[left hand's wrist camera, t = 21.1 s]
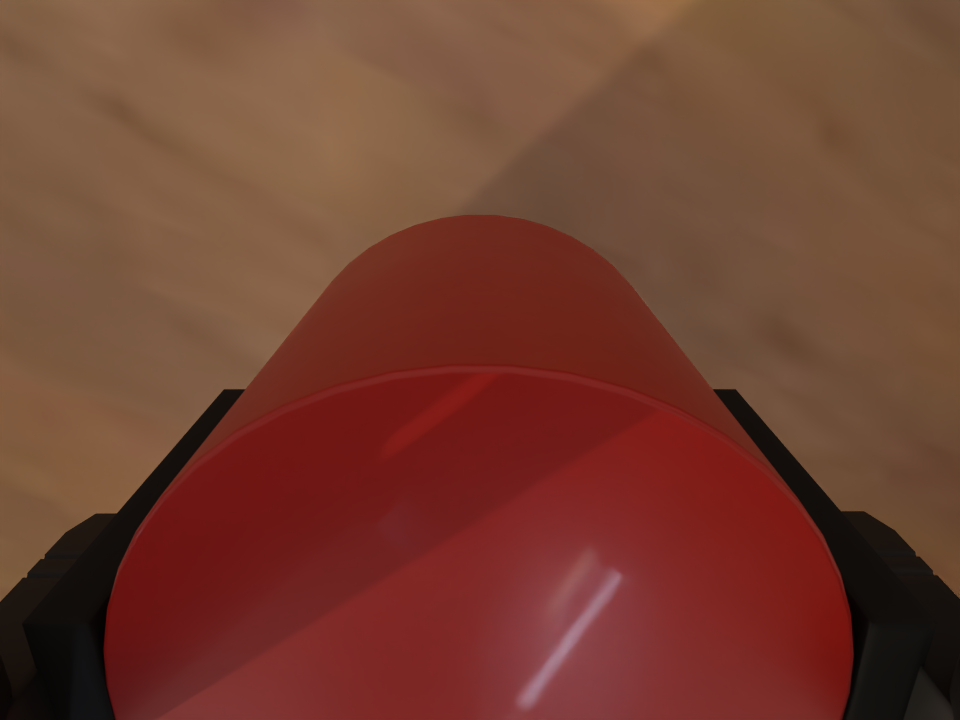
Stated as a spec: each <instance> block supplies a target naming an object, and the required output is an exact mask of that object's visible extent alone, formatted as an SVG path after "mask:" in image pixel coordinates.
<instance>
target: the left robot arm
mask: <svg viewBox="0 0 960 720" xmlns="http://www.w3.org/2000/svg"><path fill="white" fill-rule="evenodd" d="M245 390H246V389H224V390H223V391H222V392H221V394H220V395H219V396H218V397H217V398H216V399H215V400H214V402H213V403H212V404H211V405H210V406H209V407H208V409H207V410H206V411H205V412H204V413H203V414H202V416H201V417H200V418H199V419H198V420H197V421H196V423H195V424H194V425H193V426H192V427H191V428H190V429H189V431H188V432H187V433H186V434H185V435H184V436H183V438H182V439H181V440H180V441H179V442H178V443H177V445H176V446H175V447H174V448H173V449H172V450H171V451H170V453H169V454H168V455H167V456H166V457H165V458H164V460H163V461H162V462H161V463H160V464H159V465H158V467H157V468H156V469H155V470H154V471H153V472H152V473H151V475H150V476H149V477H148V478H147V479H146V480H145V482H144V483H143V484H142V485H141V486H140V487H139V489H138V490H137V491H136V492H135V493H134V494H133V495H132V497H131V498H130V499H129V500H128V501H127V502H126V504H125V505H124V506H123V507H122V508H121V509H120V511H119V512H118V513H117V514H95V515H93V516H91V517H90V518H88V519H87V520H85V521H83V522H82V523H80V524H79V525H77V526H75V527H74V528H72V529H71V530H69V531H67V532H66V533H65V534H64V535H63V536H62V537H61V538H60V539H59V540H58V541H57V542H56V543H55V544H54V545H53V547H52V548H51V549H50V550H49V551H48V552H47V553H46V554H45V558H44V559H40V560H39V561H38V562H37V564H36V565H35V566H34V567H33V568H32V569H31V570H30V571H29V572H28V573H27V574H28V575H27V578H22V579H21V581H20V582H19V583H18V584H17V585H16V586H15V587H14V588H13V589H12V590H11V591H10V592H9V593H8V594H7V595H6V596H5V597H4V599H3V600H2V601H1V602H0V720H115V717H114V713H113V709H112V706H111V702H110V698H109V694H108V690H107V686H106V674H105V662H104V651H103V648H104V637H105V626H106V615H107V607H108V603H109V599H110V596H111V592H112V589H113V585H114V581H115V578H116V574H117V570H118V568H119V565H120V563H121V561H122V559H123V557H124V555H125V553H126V551H127V549H128V547H129V545H130V542H131V540H132V538H133V536H134V534H135V532H136V530H137V529H138V527H139V526H140V524H141V523H142V522H143V520H144V519H145V517H146V516H147V515H148V513H149V512H150V510H151V509H152V507H153V506H154V505H155V503H156V502H157V500H158V499H159V498H160V496H161V495H162V493H163V492H164V491H165V490H166V488H167V487H168V486H169V485H170V483H171V482H172V481H173V480H174V478H175V477H176V476H177V475H178V473H179V472H180V471H181V470H182V468H183V467H184V466H185V465H186V463H187V462H188V461H189V460H190V458H191V457H192V456H193V455H194V453H195V452H196V451H197V450H198V448H199V447H200V446H201V445H202V443H203V442H204V441H205V440H206V438H207V437H208V436H209V435H210V433H211V432H212V431H213V430H214V428H215V427H216V426H217V425H218V423H219V422H220V421H221V420H222V418H223V417H224V416H225V415H226V413H227V412H228V411H229V410H230V408H231V407H232V406H233V405H234V403H235V402H236V401H237V400H238V398H239V397H240V396H241V395H242V393H243V392H244V391H245ZM713 391H714V392H715V393H716V395H717V396H718V397H719V398H720V400H721V401H722V402H723V403H724V405H725V406H726V407H727V409H728V410H729V411H730V412H731V414H732V415H733V416H734V417H735V419H736V420H737V421H738V423H739V424H740V425H741V426H742V428H743V429H744V430H745V432H746V433H747V434H748V435H749V437H750V438H751V439H752V440H753V442H754V443H755V444H756V446H757V447H758V448H759V449H760V451H761V452H762V453H763V454H764V456H765V457H766V458H767V460H768V461H769V462H770V463H771V465H772V466H773V467H774V468H775V470H776V471H777V472H778V474H779V475H780V476H781V477H782V479H783V480H784V481H785V482H786V484H787V485H788V486H789V488H790V489H791V490H792V491H793V493H794V494H795V495H796V497H797V498H798V499H799V501H800V502H801V503H802V505H803V506H804V508H805V509H806V511H807V512H808V514H809V515H810V517H811V518H812V520H813V521H814V523H815V524H816V526H817V527H818V529H819V530H820V531H821V533H822V534H823V536H824V538H825V540H826V542H827V545H828V547H829V549H830V551H831V553H832V556H833V558H834V560H835V562H836V564H837V567H838V569H839V571H840V573H841V577H842V581H843V584H844V588H845V592H846V596H847V600H848V604H849V608H850V612H851V621H852V635H853V649H854V659H853V668H852V678H851V687H850V694H849V698H848V701H847V705H846V708H845V712H844V715H843V719H842V720H960V599H959V598H958V597H957V596H956V595H955V594H954V593H953V591H952V590H951V589H950V588H949V587H948V586H947V585H946V584H945V583H944V582H943V581H942V580H941V579H940V578H939V577H938V576H937V575H933V570H932V569H931V568H930V567H929V566H928V565H927V564H926V563H925V562H924V561H923V560H922V559H921V558H920V557H916V555H915V551H914V550H913V549H912V548H911V547H910V546H909V545H908V544H907V543H906V542H905V541H904V540H903V539H902V538H901V537H900V536H899V535H898V533H897V532H896V531H895V530H893V529H892V528H890V527H888V526H887V525H885V524H884V523H882V522H880V521H879V520H877V519H876V518H874V517H872V516H871V515H869V514H867V513H866V512H864V511H840V510H839V509H838V507H837V506H836V505H835V504H834V503H833V502H832V500H831V499H830V498H829V497H828V496H827V495H826V494H825V492H824V491H823V490H822V489H821V488H820V487H819V485H818V484H817V483H816V482H815V481H814V480H813V478H812V477H811V476H810V475H809V474H808V473H807V472H806V470H805V469H804V468H803V467H802V466H801V465H800V463H799V462H798V461H797V460H796V459H795V458H794V456H793V455H792V454H791V453H790V452H789V451H788V449H787V448H786V447H785V446H784V445H783V444H782V443H781V441H780V440H779V439H778V438H777V437H776V436H775V434H774V433H773V432H772V431H771V430H770V429H769V427H768V426H767V425H766V424H765V423H764V422H763V421H762V419H761V418H760V417H759V416H758V415H757V414H756V412H755V411H754V410H753V409H752V408H751V407H750V405H749V404H748V403H747V402H746V401H745V400H744V398H743V397H742V396H741V395H740V394H739V393H738V392H737V390H736V389H713Z"/></svg>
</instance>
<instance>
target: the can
mask: <svg viewBox="0 0 960 720" xmlns="http://www.w3.org/2000/svg"><path fill="white" fill-rule="evenodd" d="M103 651H104V662H105V674H106V686H107V690H108V694H109V698H110V702H111V706H112V709H113V713H114V717H115V720H842V719H843V715H844V712H845V708H846V705H847V701H848V698H849V694H850V687H851V678H852V668H853V659H854V649H853V635H852V621H851V612H850V608H849V604H848V600H847V596H846V592H845V588H844V584H843V581H842V577H841V573H840V571H839V569H838V567H837V564H836V562H835V560H834V558H833V556H832V553H831V551H830V549H829V547H828V545H827V542H826V540H825V538H824V536H823V534H822V533H821V531H820V530H819V529H818V527H817V526H816V524H815V523H814V521H813V520H812V518H811V517H810V515H809V514H808V512H807V511H806V509H805V508H804V506H803V505H802V503H801V502H800V501H799V499H798V498H797V497H796V495H795V494H794V493H793V491H792V490H791V489H790V488H789V486H788V485H787V484H786V482H785V481H784V480H783V479H782V477H781V476H780V475H779V474H778V472H777V471H776V470H775V468H774V467H773V466H772V465H771V463H770V462H769V461H768V460H767V458H766V457H765V456H764V454H763V453H762V452H761V451H760V449H759V448H758V447H757V446H756V444H755V443H754V442H753V440H752V439H751V438H750V437H749V435H748V434H747V433H746V432H745V430H744V429H743V428H742V426H741V425H740V424H739V423H738V421H737V420H736V419H735V417H734V416H733V415H732V414H731V412H730V411H729V410H728V409H727V407H726V406H725V405H724V403H723V402H722V401H721V400H720V398H719V397H718V396H717V395H716V393H715V392H714V391H713V389H712V388H711V387H710V386H709V384H708V383H707V382H706V381H705V379H704V378H703V377H702V375H701V374H700V373H699V372H698V370H697V369H696V368H695V366H694V365H693V364H692V363H691V361H690V360H689V359H688V358H687V356H686V355H685V354H684V352H683V351H682V350H681V349H680V347H679V346H678V345H677V344H676V342H675V341H674V340H673V338H672V337H671V336H670V335H669V333H668V332H667V331H666V330H665V328H664V327H663V326H662V324H661V323H660V322H659V321H658V319H657V318H656V317H655V315H654V314H653V313H652V312H651V310H650V309H649V308H648V307H647V305H646V304H645V303H644V301H643V300H642V299H641V298H640V296H639V295H638V294H637V293H636V291H635V290H634V289H633V287H632V286H631V285H630V284H629V283H628V282H627V280H626V279H625V278H624V277H623V276H622V275H621V274H620V273H619V272H618V271H617V270H616V269H615V268H614V266H612V265H611V264H610V263H609V262H608V261H606V260H605V259H604V258H603V257H601V256H600V255H599V254H598V253H596V252H595V251H594V250H593V249H591V248H589V247H588V246H586V245H584V244H583V243H581V242H579V241H578V240H576V239H574V238H573V237H571V236H569V235H566V234H564V233H562V232H559V231H557V230H555V229H553V228H550V227H548V226H545V225H541V224H538V223H534V222H531V221H527V220H523V219H518V218H511V217H504V216H497V215H464V216H456V217H448V218H440V219H437V220H433V221H429V222H425V223H421V224H418V225H414V226H412V227H410V228H407V229H405V230H402V231H400V232H397V233H395V234H393V235H390V236H389V237H387V238H385V239H384V240H382V241H380V242H378V243H377V244H375V245H373V246H372V247H370V248H368V249H367V250H366V251H364V252H363V253H362V254H361V255H359V256H358V257H357V258H356V259H354V260H353V261H352V262H350V263H349V264H348V265H347V266H346V267H345V268H344V269H343V270H342V271H341V272H340V274H339V275H338V276H337V277H336V278H335V279H334V280H333V281H332V282H331V283H330V284H329V286H328V287H327V288H326V289H325V291H324V292H323V293H322V294H321V296H320V297H319V298H318V299H317V301H316V302H315V303H314V304H313V306H312V307H311V308H310V309H309V311H308V312H307V313H306V314H305V316H304V317H303V318H302V319H301V321H300V322H299V323H298V324H297V326H296V327H295V328H294V329H293V331H292V332H291V333H290V334H289V336H288V337H287V338H286V339H285V341H284V342H283V343H282V344H281V346H280V347H279V348H278V349H277V351H276V352H275V353H274V354H273V356H272V357H271V358H270V359H269V361H268V362H267V363H266V364H265V366H264V367H263V368H262V370H261V371H260V372H259V373H258V375H257V376H256V377H255V378H254V380H253V381H252V382H251V383H250V385H249V386H248V387H247V388H246V390H245V391H244V392H243V393H242V395H241V396H240V397H239V398H238V400H237V401H236V402H235V403H234V405H233V406H232V407H231V408H230V410H229V411H228V412H227V413H226V415H225V416H224V417H223V418H222V420H221V421H220V422H219V423H218V425H217V426H216V427H215V428H214V430H213V431H212V432H211V433H210V435H209V436H208V437H207V438H206V440H205V441H204V442H203V443H202V445H201V446H200V447H199V448H198V450H197V451H196V452H195V453H194V455H193V456H192V457H191V458H190V460H189V461H188V462H187V463H186V465H185V466H184V467H183V468H182V470H181V471H180V472H179V473H178V475H177V476H176V477H175V478H174V480H173V481H172V482H171V483H170V485H169V486H168V487H167V488H166V490H165V491H164V492H163V493H162V495H161V496H160V498H159V499H158V500H157V502H156V503H155V505H154V506H153V507H152V509H151V510H150V512H149V513H148V515H147V516H146V517H145V519H144V520H143V522H142V523H141V524H140V526H139V527H138V529H137V530H136V532H135V534H134V536H133V538H132V540H131V542H130V545H129V547H128V549H127V551H126V553H125V555H124V557H123V559H122V561H121V563H120V565H119V568H118V570H117V574H116V578H115V581H114V585H113V589H112V592H111V596H110V599H109V603H108V607H107V615H106V626H105V637H104V648H103Z"/></svg>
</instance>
